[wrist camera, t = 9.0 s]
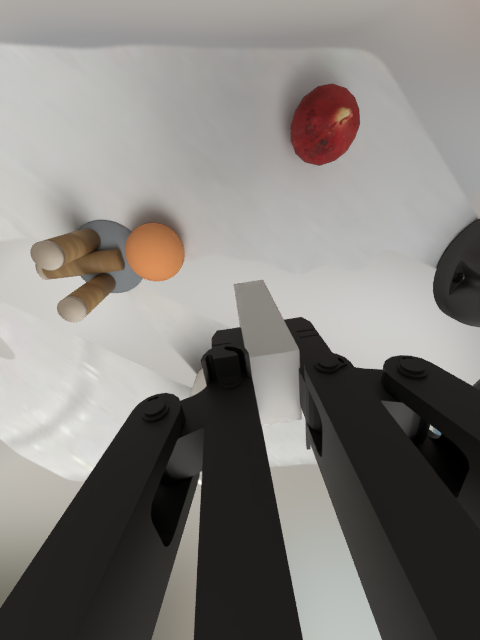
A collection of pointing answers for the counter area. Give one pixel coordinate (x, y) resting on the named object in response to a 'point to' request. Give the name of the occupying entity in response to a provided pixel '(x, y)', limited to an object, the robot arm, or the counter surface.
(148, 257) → the ball
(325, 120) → the onion
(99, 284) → the pin
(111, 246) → the pin spot
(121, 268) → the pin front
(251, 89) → the counter surface
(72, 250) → the pin
